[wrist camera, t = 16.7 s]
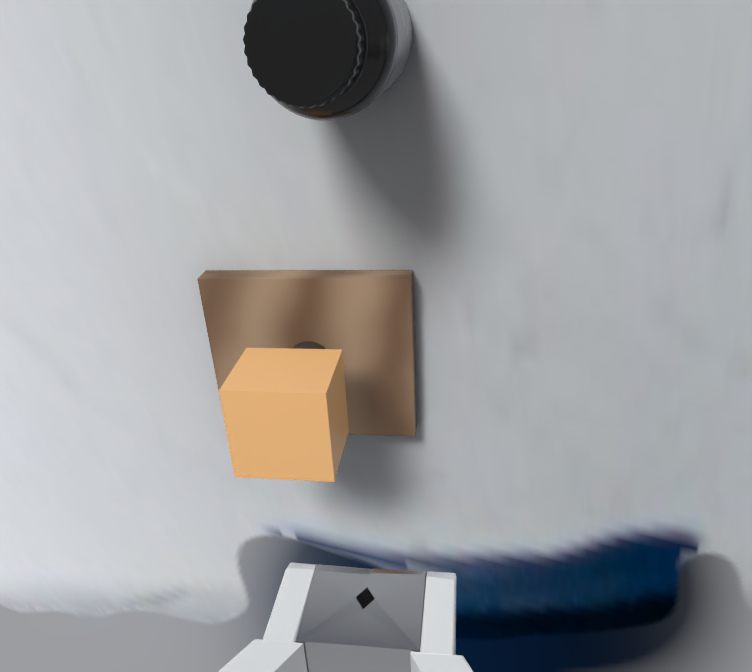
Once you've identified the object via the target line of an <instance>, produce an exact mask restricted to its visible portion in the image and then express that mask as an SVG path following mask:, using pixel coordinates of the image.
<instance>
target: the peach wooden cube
mask: <svg viewBox="0 0 752 672" xmlns="http://www.w3.org/2000/svg"><path fill="white" fill-rule="evenodd" d="M219 395H220V400H221V405H222V411H223V416H224V422H225V427H226V432H227V438H228V443H229V449H230V454H231V459H232V465H233V470H234V476H235V477H241V478H262V479H283V480H304V481H326V482H335V479H336V475H337V472H338V468H339V464H340V461H341V457H342V454H343V450H344V447H345V443H346V440H347V436H348V433H349V427H348V414H347V402H346V390H345V377H344V365H343V353H342V349H289V348H246V349H245V351H244V352H243V354H242V355H241V357H240V359H239V360H238V362H237V363H236V365H235V366H234V368H233V369H232V371H231V372H230V374H229V375H228V377H227V379H226V380H225V382H224V383H223V385H222V386H221V388H220V389H219Z"/></svg>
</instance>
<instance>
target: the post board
mask: <svg viewBox="0 0 752 672" xmlns="http://www.w3.org/2000/svg"><path fill="white" fill-rule="evenodd" d="M198 284H199V289H200V295H201V300H202V305H203V310H204V316H205V321H206V326H207V332H208V337H209V342H210V347H211V353H212V358H213V363H214V368H215V374H216V379H217V384H218V390H219V389H220V388H221V386H222V385H223V383H224V382H225V380H226V379H227V377H228V375H229V374H230V372H231V371H232V369H233V368H234V366H235V365H236V363H237V362H238V360H239V359H240V357H241V355H242V354H243V352H244V351H245V349H246V348H289V349H342V353H343V365H344V377H345V390H346V402H347V414H348V427H349V433H348V434H359V435H389V436H415V435H416V428H417V410H416V375H415V341H414V306H413V272H412V270H269V271H205V272H204V273H203V274H202V275H201V276H200V277H199V278H198Z"/></svg>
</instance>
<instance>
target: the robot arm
mask: <svg viewBox="0 0 752 672" xmlns="http://www.w3.org/2000/svg"><path fill="white" fill-rule="evenodd" d="M218 672H473V670H472V669H471V667H470V666H469V664H468V663H467V661H466V660H465V658H464V657H463V656H459V655H456V574H455V573H443V572H427V571H410V570H390V569H363V568H351V567H341V566H329V565H313V564H300V563H290V565H289V566H288V567H287V569H286V571H285V574H284V577H283V580H282V583H281V586H280V589H279V592H278V595H277V598H276V601H275V604H274V608H273V610H272V614H271V616H270V619H269V622H268V625H267V628H266V632H265V635H264V638H263V640H259V639H255V640H253V641H252V642H251V643H250V644H249V645H248V646H247V647H245V648H244V649H243V650H242V651H241V652H240V653H239V654H238V655H236V656H235V657H234V658H233V659H232V660H231V661H230V662H228V663H227V664H226V665H225V666H224V667H223V668H222V669H220V670H219V671H218Z"/></svg>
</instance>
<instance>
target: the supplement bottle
mask: <svg viewBox="0 0 752 672" xmlns="http://www.w3.org/2000/svg"><path fill="white" fill-rule="evenodd" d="M244 31H245V35H244V38H243V41H244V44H245V50H244V53H245V55H246V56H247V62H248V66H249V67H250V68H251V69H252V74H253V76H254V77H255V78H256V79H257V80H258V83H259V85H260V86H261V87H262V88H265V90H266V92H267V93H268V94H269V95H271V96H272V97H273V99H275V100H276V101H277V102H278V103H279V104H280V105H282V106H283V107H284V108H286V109H288V110H289V111H291V112H293V113H295V114H297V115H299V116H302V117H305V118H309V119H313V120H323V121H327V120H337V119H341V118H345V117H348V116H350V115H353V114H355V113H357V112H359V111H361V110H362V109H364V108H365V107H367V106H368V105H369V104H370V103H372V102H373V101H374V100H375V99H376V98H378V97H379V96H380V95H381V94H382V93H383V92H385V91H386V90H387V89H388V88H389V87H390V86H391V85H392V84H393V83H394V82H395V81H396V80H397V78H398V77H399V76H400V74H401V73H402V71H403V69H404V67H405V65H406V63H407V60H408V57H409V54H410V50H411V43H412V26H411V19H410V15H409V12H408V9H407V6H406V4H405V2H404V0H253V3H252V6H251V9H250V12H249V13H248V14H247V22H246V24H245V26H244Z"/></svg>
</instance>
